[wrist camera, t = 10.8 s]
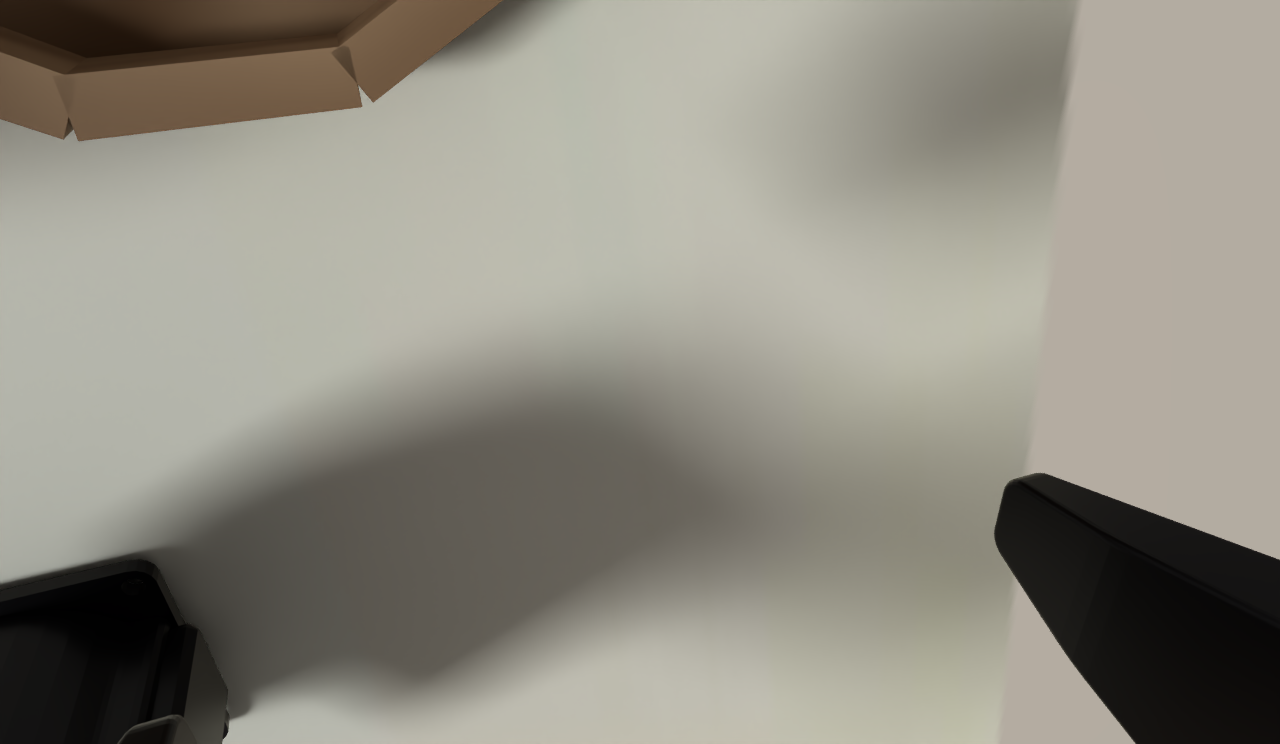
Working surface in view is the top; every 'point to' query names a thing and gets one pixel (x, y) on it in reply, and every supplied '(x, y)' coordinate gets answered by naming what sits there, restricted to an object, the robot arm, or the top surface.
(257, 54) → the tray
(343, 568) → the top surface
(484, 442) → the top surface
